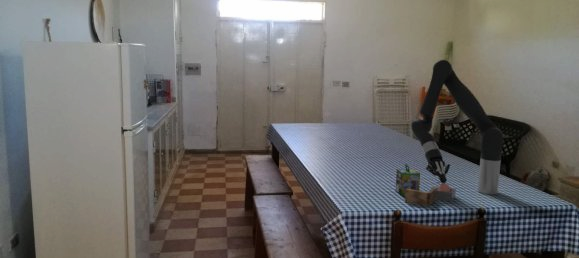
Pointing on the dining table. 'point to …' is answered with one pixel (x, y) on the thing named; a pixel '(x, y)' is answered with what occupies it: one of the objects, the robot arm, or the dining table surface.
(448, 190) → the dome
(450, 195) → the dome collar
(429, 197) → the corner fence
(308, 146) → the dining table surface
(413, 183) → the chalk box
